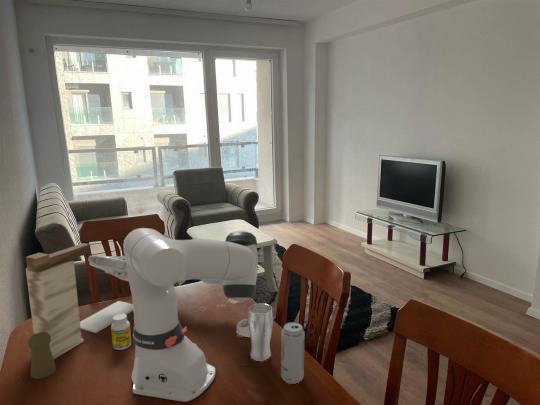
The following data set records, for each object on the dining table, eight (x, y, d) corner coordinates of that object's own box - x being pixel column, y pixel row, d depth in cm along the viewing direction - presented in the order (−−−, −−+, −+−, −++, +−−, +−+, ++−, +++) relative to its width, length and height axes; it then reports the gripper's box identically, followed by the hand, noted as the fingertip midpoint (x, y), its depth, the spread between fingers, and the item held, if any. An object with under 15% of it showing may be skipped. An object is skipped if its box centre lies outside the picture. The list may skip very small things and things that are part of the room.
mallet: (91, 252, 122) (90, 240, 122) (37, 272, 106) (35, 258, 105) (82, 251, 124) (81, 239, 123) (27, 270, 107) (25, 256, 107)
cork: (37, 381, 101) (33, 343, 98) (26, 373, 104) (20, 336, 102) (60, 369, 106) (56, 332, 103) (48, 362, 109) (44, 326, 107)
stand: (83, 341, 119) (75, 261, 114) (53, 359, 110) (43, 273, 105) (64, 335, 123) (55, 257, 118) (32, 352, 113) (22, 269, 108)
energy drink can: (279, 372, 105) (279, 321, 102) (301, 370, 105) (302, 320, 102) (282, 387, 99) (283, 333, 96) (305, 385, 99) (306, 332, 97)
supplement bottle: (129, 339, 121) (127, 310, 119) (133, 347, 116) (131, 317, 115) (111, 344, 118) (108, 315, 116) (114, 352, 114) (112, 322, 112)
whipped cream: (260, 340, 122) (261, 327, 121) (239, 342, 120) (241, 329, 119) (252, 326, 129) (254, 313, 128) (233, 328, 127) (234, 315, 126)
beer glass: (277, 353, 113) (277, 306, 110) (264, 366, 107) (264, 316, 104) (257, 346, 117) (257, 300, 114) (243, 358, 111) (243, 310, 108)
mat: (139, 307, 142) (139, 305, 142) (95, 333, 124) (95, 331, 124) (118, 302, 146) (118, 300, 146) (73, 326, 128) (73, 325, 128)
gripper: (147, 281, 136) (121, 274, 124) (104, 272, 144) (75, 265, 132) (152, 263, 138) (127, 255, 126) (109, 256, 146) (81, 247, 134)
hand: (100, 260), depth 129 cm, fingers open, 8 cm apart
